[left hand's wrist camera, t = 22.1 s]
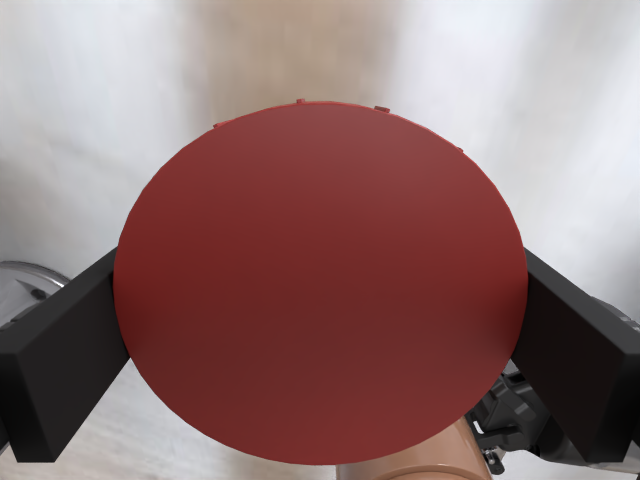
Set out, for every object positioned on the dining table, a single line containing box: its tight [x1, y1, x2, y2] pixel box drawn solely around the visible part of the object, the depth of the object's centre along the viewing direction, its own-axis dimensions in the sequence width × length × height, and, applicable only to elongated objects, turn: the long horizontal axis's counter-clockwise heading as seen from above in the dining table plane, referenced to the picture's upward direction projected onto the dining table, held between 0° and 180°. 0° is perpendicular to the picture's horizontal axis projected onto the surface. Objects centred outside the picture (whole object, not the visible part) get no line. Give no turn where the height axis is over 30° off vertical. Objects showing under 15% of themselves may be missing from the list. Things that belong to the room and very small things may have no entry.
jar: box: [336, 415, 494, 480], centre depth 30 cm, size 10×10×20 cm
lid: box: [113, 99, 528, 465], centre depth 11 cm, size 11×11×2 cm
